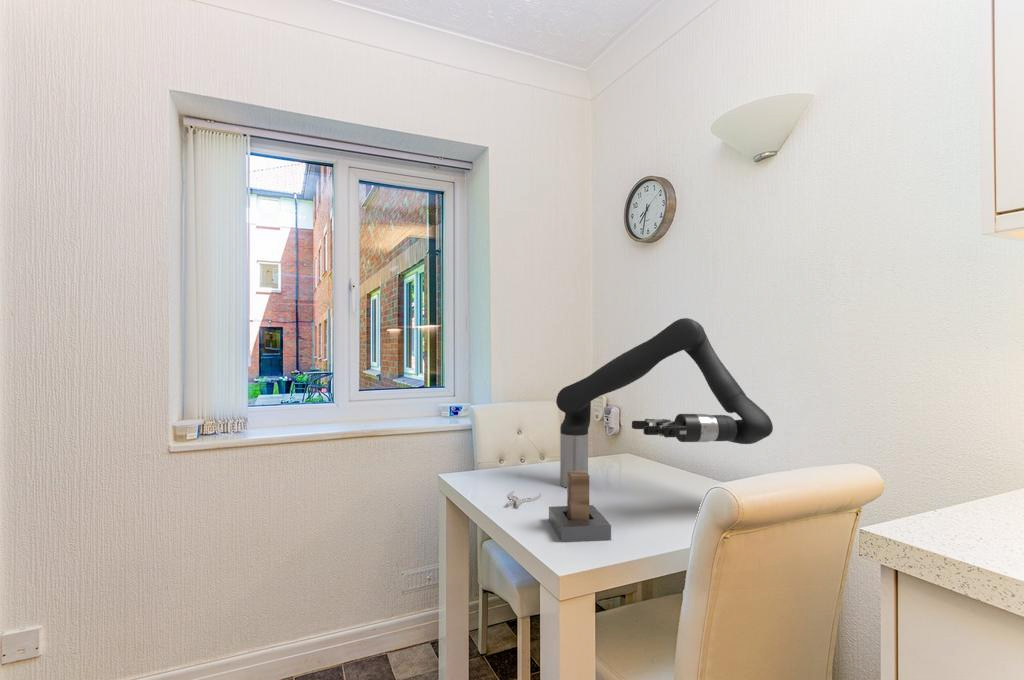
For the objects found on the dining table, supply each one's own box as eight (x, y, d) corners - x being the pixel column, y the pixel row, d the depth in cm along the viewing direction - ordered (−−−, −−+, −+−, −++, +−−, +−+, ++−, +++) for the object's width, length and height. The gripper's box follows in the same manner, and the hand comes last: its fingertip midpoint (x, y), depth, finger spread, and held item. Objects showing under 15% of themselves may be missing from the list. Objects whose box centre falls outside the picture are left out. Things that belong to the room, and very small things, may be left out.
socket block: (548, 520, 128) (548, 506, 128) (592, 518, 130) (592, 505, 130) (561, 542, 113) (561, 527, 114) (611, 540, 115) (611, 525, 115)
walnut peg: (567, 526, 124) (567, 471, 124) (584, 525, 124) (584, 470, 125) (571, 533, 119) (571, 475, 120) (589, 532, 120) (589, 475, 120)
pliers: (542, 491, 151) (528, 505, 136) (542, 496, 151) (528, 511, 136) (512, 488, 154) (495, 502, 139) (512, 493, 154) (495, 507, 139)
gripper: (684, 410, 138) (628, 409, 136) (709, 418, 124) (648, 417, 122) (683, 436, 138) (628, 436, 136) (709, 447, 124) (648, 447, 122)
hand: (638, 427), depth 129 cm, fingers open, 8 cm apart
